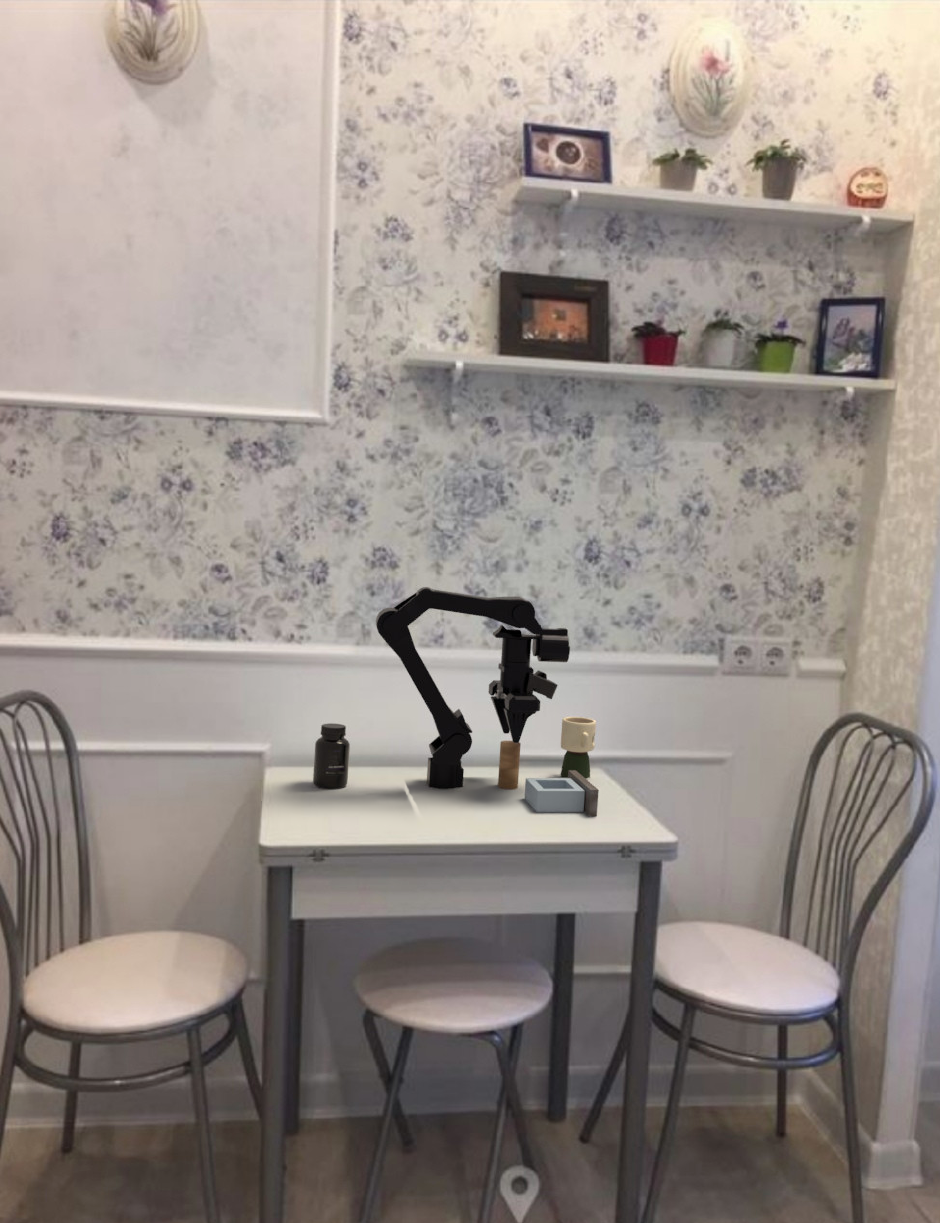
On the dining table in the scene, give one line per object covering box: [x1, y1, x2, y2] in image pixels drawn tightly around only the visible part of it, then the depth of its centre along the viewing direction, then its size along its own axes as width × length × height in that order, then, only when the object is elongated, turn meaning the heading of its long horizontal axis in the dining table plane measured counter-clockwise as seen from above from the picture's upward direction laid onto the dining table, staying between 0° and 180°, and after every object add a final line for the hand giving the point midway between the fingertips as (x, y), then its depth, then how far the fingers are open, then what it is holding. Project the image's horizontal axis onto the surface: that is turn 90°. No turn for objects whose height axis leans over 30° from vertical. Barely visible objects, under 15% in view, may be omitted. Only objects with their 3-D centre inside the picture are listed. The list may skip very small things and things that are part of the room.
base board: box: [568, 770, 599, 817], centre depth 194 cm, size 18×14×6 cm
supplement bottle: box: [312, 722, 351, 790], centre depth 204 cm, size 7×7×12 cm
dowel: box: [497, 740, 521, 790], centre depth 206 cm, size 4×4×10 cm
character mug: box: [560, 716, 597, 780], centre depth 218 cm, size 11×7×13 cm, turn 13°
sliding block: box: [524, 777, 585, 813], centre depth 195 cm, size 9×9×4 cm
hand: (510, 737), depth 205 cm, fingers open, 8 cm apart
